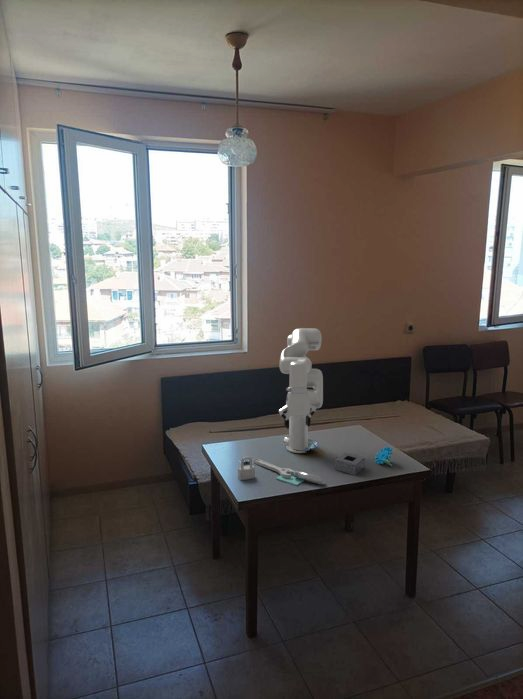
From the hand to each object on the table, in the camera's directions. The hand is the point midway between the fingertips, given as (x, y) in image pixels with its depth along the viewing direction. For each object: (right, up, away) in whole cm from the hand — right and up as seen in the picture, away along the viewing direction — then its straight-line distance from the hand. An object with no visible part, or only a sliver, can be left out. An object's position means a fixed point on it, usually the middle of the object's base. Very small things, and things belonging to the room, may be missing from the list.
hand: (297, 426), depth 218 cm
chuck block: (+25, -22, +12) cm, 35 cm away
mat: (-2, -23, +2) cm, 24 cm away
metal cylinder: (-1, -21, +1) cm, 21 cm away
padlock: (-23, -24, +3) cm, 33 cm away
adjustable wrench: (-10, -22, +11) cm, 26 cm away
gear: (+43, -21, +18) cm, 51 cm away
